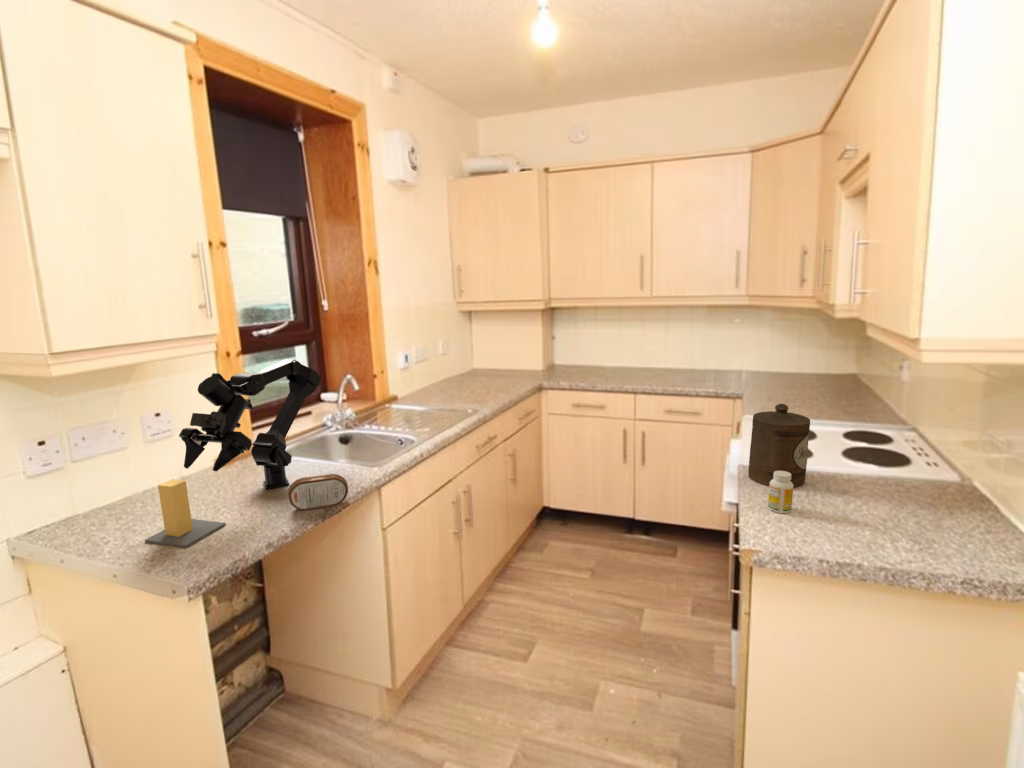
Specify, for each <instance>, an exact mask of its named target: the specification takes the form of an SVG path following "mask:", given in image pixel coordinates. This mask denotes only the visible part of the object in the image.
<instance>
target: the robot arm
mask: <svg viewBox="0 0 1024 768" xmlns="http://www.w3.org/2000/svg"><path fill="white" fill-rule="evenodd" d="M283 378H285V379H286V380H287V381H289V382H288V388H289V393H288V394H287V396H286V398H285V399H284V402H283V403H282V406H281V408H280V409H279V411H278V413H277V415H276V416H275V419H274V420H273V423H271V425H270V428H269V430H268V431H267V432H259V433H258V434H257V436H256V438H255V440H254V441H253V442H252V439H250V438H249V437H248V436H247V435H246V434H244V433H243V432H242V431H237V430H235V429H239V428H240V427H241V425H242V424H241V423H240V422H239V421H240V420H241V417H242V416H243V414H244V412H245V410H253V404H252V403H251V399H249V398H248V399H247V398H245V397H244V396H252V397H253V396H254V397H255V396H257V395H258V394H260V393H262V392H263V391H264V389H265V388H266V386H267V385H269V384H272V383H274V382H276V381H279V380H281V379H283ZM320 384H321V377H320V375H319V373H318V372H317V371H316V370H313V368H310V367H308V366H306V365H304V364H302V363H301V362H299V360H296V359H283V360H281V361H280V362H277V363H275V364H274V363H273V364H272V365H270V366H266V367H265V368H261V369H259V370H257V371H254V372H251V371H250V372H242V373H235V374H233V375H231V376H230V378H229V379H227V380H226V379H225V378H224V377H223V375H222V374H221V373H218V372H217V373H216V372H213V373H212V374H211V375H210V376H209V377H206V378H205V379H204V380H203V381H202V382H200V383H199V384H198V386H197V392H198V394H199V395H201V396H202V397H203V398H205V400H207V401H208V402H210V404H211V405H213V406H215V407H218V410H217V411H214V410H213V411H212V412H211V413H210V414H209V413H199V412H198V413H196V412H193V413H192V414H191V419H190V421H189V422H190V423H189V426H191V427H186V428H185V427H184V428H182V429H181V431H180V433H179V435H178V437H179V438H180V439H181V441H182V442H184V444H185V456H184V463H183V468H184V469H189V468H190V467H191V466H192V465H193V464H194V463H195V462H196V460H197V459H198V458H199V456H200V455H202V453H203V452H204V451H205V450H206V448H205V447H206V446H207V445H208V444H209V443H216V444H217V443H219V444H221V445H220V447H221V448H220V449H221V450H220V452H219V454H218V456H217V458H216V459H215V462H214V464H213V468H212V471H214V472H218V471H219V470H220V469H222V468H223V467H225V465H227V464H228V463H229V462H231V461H232V460H234V459H235V458H237V457H238V456H240V455H241V454H244V453H245V452H251V456H252V458H253V460H254V463H255V464H256V466H262V467H263V472H264V480H263V482H262V483H263V486H264V489H265V490H269V489H275V488H281V487H285V486H289V485H290V482H289V480H288V478H287V474H286V473H287V472H286V467H288V466H289V465H290V464H291V463H292V458H293V457H292V455H291V454H290V453H289V452H288V451H286V449H287V442H286V436H287V435H288V432H289V431H290V429H291V428H292V425H293V424H294V421H295V420H296V417H297V415H299V414H298V413H299V411H300V409H301V408H302V406H303V404H304V401H306V399H307V398H308V397H310V396H311V395H313V394H314V393H315V392H316V390H317V389H318V387H319V385H320ZM193 427H194V428H193ZM195 427H199V428H200V427H201V428H200V430H199V429H198V428H195ZM251 447H252V448H251ZM250 449H251V451H250Z"/></svg>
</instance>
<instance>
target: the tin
mask: <svg viewBox="0 0 1024 768" xmlns="http://www.w3.org/2000/svg"><path fill="white" fill-rule="evenodd" d="M348 494H349V486H348V482H347V480H346V479H345V478H344V477H343V476H341V474H340V475H339V474H336V473H331V474H329V473H328V474H322V475H316V476H315V475H313V476H307V477H300V478H298V479H296V480H295V481H293V482H291V485H290V486H289V488H288V493H287V495H288V500H289V504H290V505H292V507H294V508H295V509H296V510H300V511H307V510H314V509H320V508H321V509H322V508H328V507H329V508H330V507H334V506H335V507H336V506H338V505H339V504H342V503H343V502H344V501H345V500H346V498H347V496H348Z"/></svg>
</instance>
